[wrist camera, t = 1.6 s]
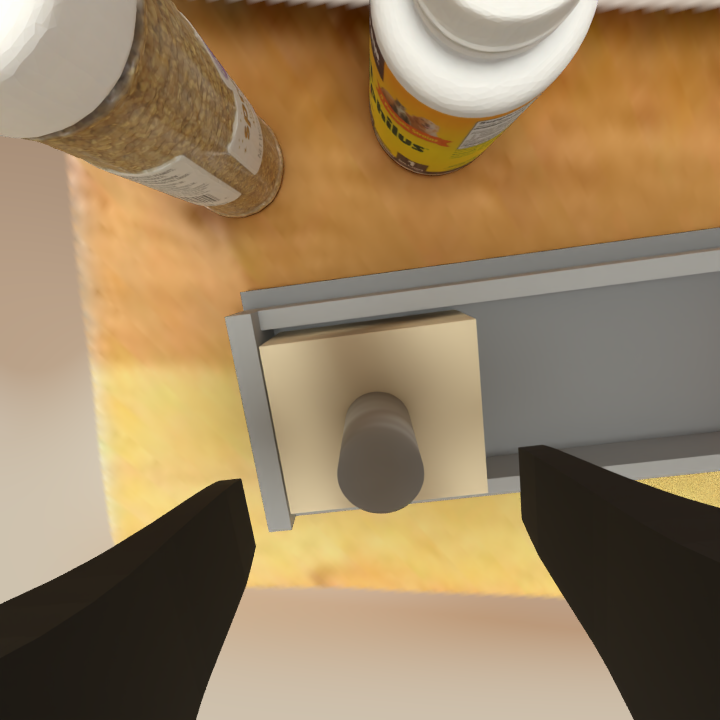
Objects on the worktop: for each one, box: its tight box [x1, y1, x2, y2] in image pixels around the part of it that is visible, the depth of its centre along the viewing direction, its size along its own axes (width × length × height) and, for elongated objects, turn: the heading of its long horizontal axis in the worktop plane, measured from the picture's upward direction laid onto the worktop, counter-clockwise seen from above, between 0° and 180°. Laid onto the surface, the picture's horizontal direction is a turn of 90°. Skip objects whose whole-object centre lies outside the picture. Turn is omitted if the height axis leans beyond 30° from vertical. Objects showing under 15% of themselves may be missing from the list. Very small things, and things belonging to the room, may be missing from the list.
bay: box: [225, 227, 720, 532], centre depth 18 cm, size 24×11×4 cm, turn 98°
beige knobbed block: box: [259, 310, 488, 514], centre depth 15 cm, size 8×7×8 cm
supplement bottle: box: [369, 0, 598, 175], centre depth 12 cm, size 6×6×10 cm
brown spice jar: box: [0, 0, 283, 217], centre depth 11 cm, size 5×5×14 cm
